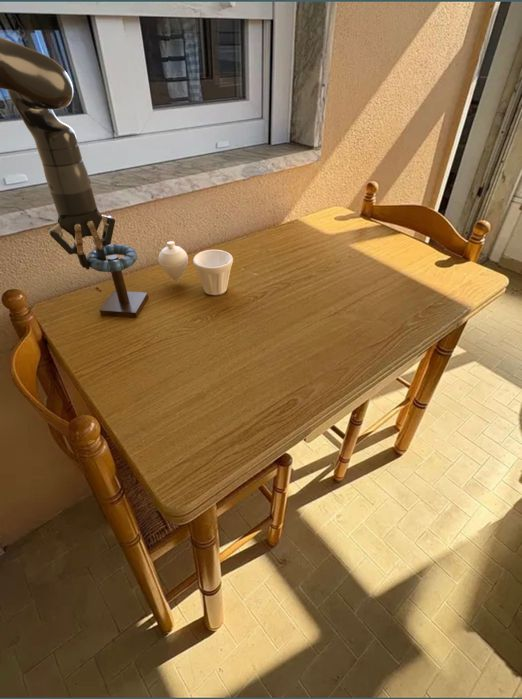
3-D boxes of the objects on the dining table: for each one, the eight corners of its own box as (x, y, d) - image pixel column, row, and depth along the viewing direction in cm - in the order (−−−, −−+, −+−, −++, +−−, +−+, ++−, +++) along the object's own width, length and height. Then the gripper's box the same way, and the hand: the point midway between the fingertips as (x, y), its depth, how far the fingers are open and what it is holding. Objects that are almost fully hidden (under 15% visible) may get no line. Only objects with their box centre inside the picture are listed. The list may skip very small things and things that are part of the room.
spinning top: (182, 273, 108) (176, 233, 100) (196, 284, 103) (191, 243, 96) (157, 282, 104) (149, 241, 96) (171, 294, 100) (164, 252, 92)
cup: (190, 296, 99) (186, 264, 93) (205, 277, 106) (202, 247, 100) (226, 303, 97) (224, 270, 91) (239, 283, 104) (238, 252, 98)
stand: (100, 315, 92) (84, 265, 84) (115, 295, 99) (101, 247, 90) (136, 317, 92) (124, 267, 83) (148, 297, 99) (138, 249, 90)
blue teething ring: (79, 272, 84) (76, 262, 82) (100, 250, 92) (98, 241, 90) (127, 275, 83) (125, 265, 81) (144, 253, 91) (142, 244, 90)
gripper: (99, 175, 79) (119, 251, 91) (27, 187, 73) (57, 267, 85) (112, 184, 75) (130, 264, 86) (35, 198, 69) (66, 282, 80)
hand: (94, 265), depth 85 cm, fingers closed on blue teething ring, 2 cm apart
